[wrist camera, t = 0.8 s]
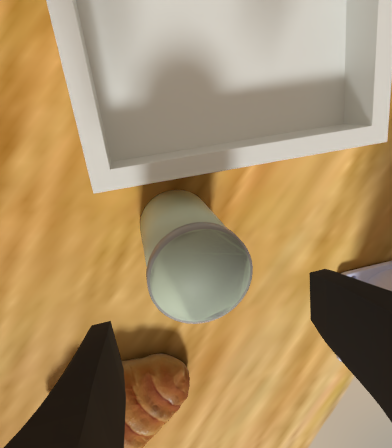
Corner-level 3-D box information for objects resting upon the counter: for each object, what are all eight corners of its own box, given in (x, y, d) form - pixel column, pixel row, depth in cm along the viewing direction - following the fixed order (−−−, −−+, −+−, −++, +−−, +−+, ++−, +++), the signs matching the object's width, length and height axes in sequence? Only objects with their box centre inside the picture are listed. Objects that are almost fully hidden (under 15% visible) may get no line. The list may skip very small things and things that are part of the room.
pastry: (159, 323, 23) (166, 362, 20) (203, 384, 26) (217, 428, 22) (39, 394, 23) (25, 446, 20) (96, 448, 26) (92, 503, 22)
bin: (361, -128, 17) (408, -173, 14) (352, 137, 22) (387, 141, 19) (26, -115, 15) (5, -167, 12) (97, 180, 19) (93, 193, 16)
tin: (207, 181, 21) (248, 216, 14) (215, 250, 22) (256, 310, 16) (131, 195, 20) (137, 239, 13) (145, 265, 21) (157, 334, 15)
